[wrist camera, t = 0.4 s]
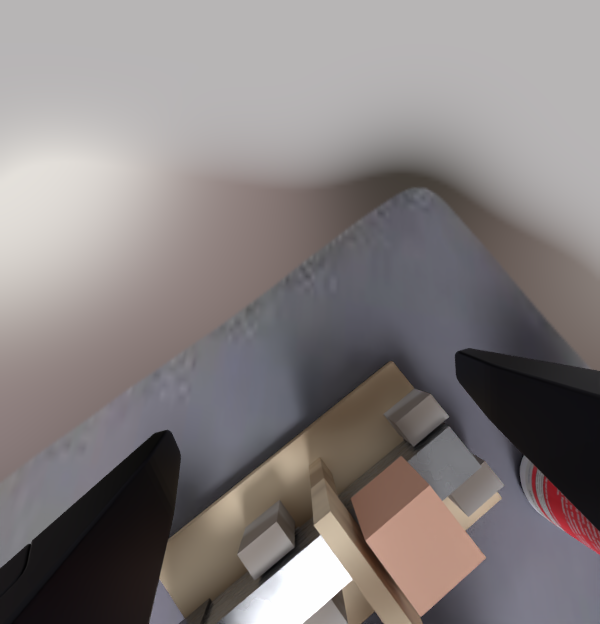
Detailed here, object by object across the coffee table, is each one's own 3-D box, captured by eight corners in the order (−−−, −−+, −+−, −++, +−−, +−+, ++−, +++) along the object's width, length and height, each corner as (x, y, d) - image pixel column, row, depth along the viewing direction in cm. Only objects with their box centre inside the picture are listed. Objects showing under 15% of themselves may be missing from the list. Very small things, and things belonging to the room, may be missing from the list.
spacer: (444, 511, 18) (486, 557, 14) (393, 556, 17) (421, 617, 13) (401, 455, 18) (429, 485, 14) (350, 498, 18) (365, 540, 14)
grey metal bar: (462, 455, 20) (555, 515, 13) (196, 684, 19) (127, 908, 11) (429, 414, 21) (501, 449, 13) (165, 635, 19) (78, 818, 11)
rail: (494, 492, 21) (608, 575, 14) (252, 707, 20) (221, 947, 12) (389, 361, 23) (437, 366, 15) (153, 551, 21) (63, 673, 13)
